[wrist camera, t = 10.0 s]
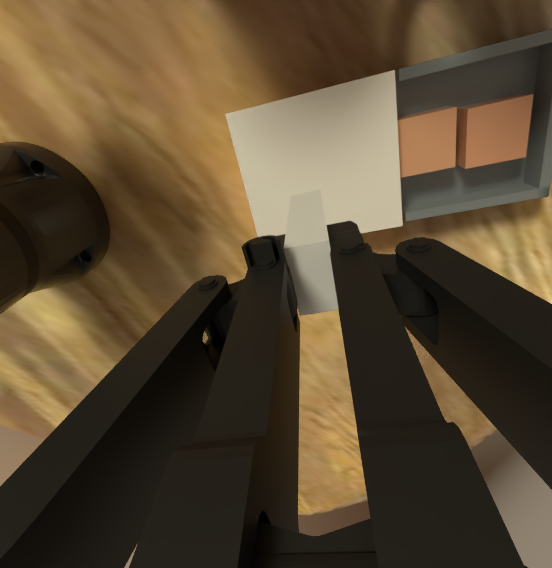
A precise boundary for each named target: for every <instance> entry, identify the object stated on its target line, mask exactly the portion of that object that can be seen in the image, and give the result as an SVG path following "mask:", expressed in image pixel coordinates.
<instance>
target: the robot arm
mask: <svg viewBox="0 0 552 568" xmlns="http://www.w3.org/2000/svg"><path fill="white" fill-rule="evenodd" d="M108 243H109V224H108V219H107V215H106V212H105V209H104V207H103V205H102V202H101V200H100V198H99V197H98V195H97V193H96V192H95V190H94V189H93V187H92V186H91V184H90V183H89V182H88V181H87V179H86V178H85V177H84V176H83V175H82V174H81V173H80V172H79V171H78V170H77V169H76V168H75V167H74V166H73V165H71V164H70V163H69V162H68V161H66V160H65V159H63V158H62V157H60V156H59V155H57V154H55V153H54V152H52V151H50V150H48V149H45V148H43V147H40V146H37V145H34V144H30V143H25V142H6V143H0V314H1V313H2V312H4V311H5V310H6V309H8V308H9V307H10V306H12V305H13V304H15V303H16V302H17V301H19V300H20V299H21V298H23V297H24V296H26V295H27V294H29V293H31V292H35V291H39V290H43V289H46V288H50V287H54V286H58V285H62V284H65V283H69V282H72V281H75V280H77V279H79V278H81V277H82V276H84V275H85V274H87V273H88V272H89V271H90V270H92V269H93V268H94V267H96V266H97V265H98V264H99V263H100V261H101V260H102V259H103V257H104V255H105V253H106V251H107V248H108ZM242 250H243V253H244V257H245V260H246V263H247V267H248V270H247V273H246V277H245V279H243V280H241V281H238V282H235V283H232V284H229V285H228V282H227V279H226V277H224V276H219V275H216V276H207V278H206V277H204V278H202V279H201V280H200V281H198V282H196V283H195V284H193V285H192V286H191V287H190V288H189V289H188V290H187V291H186V292H185V293H184V295H183V296H182V297H181V298H180V299H179V300H178V301H177V302H176V303H175V304H174V305H173V306H172V307H171V308H170V309H169V310H168V311H167V312H166V313H165V314H164V315H163V317H162V318H161V319H160V320H159V321H158V322H157V323H156V324H155V325H154V326H153V327H152V328H151V329H150V330H149V331H148V332H147V333H146V334H145V335H144V336H143V337H142V339H141V340H140V341H139V342H138V343H137V344H136V345H135V346H134V347H133V348H132V349H131V350H130V351H129V352H128V353H127V354H126V355H125V356H124V357H123V358H122V360H121V361H120V362H119V363H118V364H117V365H116V366H115V367H114V368H113V369H112V370H111V371H110V372H109V373H108V374H107V375H106V376H105V377H104V378H103V379H102V380H101V382H100V383H99V384H98V385H97V386H96V387H95V388H94V389H93V390H92V391H91V392H90V393H89V394H88V395H87V396H86V397H85V398H84V399H83V400H82V401H81V403H80V404H79V405H78V406H77V407H76V408H75V409H74V410H73V411H72V412H71V413H70V414H69V415H68V416H67V417H66V418H65V419H64V420H63V421H62V422H61V423H60V425H59V426H58V427H57V428H56V429H55V430H54V431H53V432H52V433H51V434H50V435H49V436H48V437H47V438H46V439H45V440H44V441H43V442H42V444H41V445H39V447H38V448H37V449H36V450H35V451H34V452H33V453H32V454H31V455H30V456H29V457H28V458H27V459H26V460H25V461H24V462H23V463H22V464H21V465H20V466H19V468H18V469H17V470H16V471H15V472H14V473H13V474H12V475H11V476H10V477H9V478H8V479H7V480H6V481H5V482H4V483H3V484H2V485H1V486H0V568H124V567H125V565H126V563H127V561H128V560H129V558H130V556H131V554H132V552H133V550H134V549H135V547H136V545H137V547H136V550H135V553H134V556H133V558H132V561H131V564H130V566H129V568H528V567H526V566H524V565H523V563H522V560H521V558H520V556H519V554H518V552H517V550H516V548H515V546H514V543H513V541H512V539H511V537H510V535H509V532H508V530H507V528H506V526H505V524H504V522H503V520H502V517H501V515H500V513H499V511H498V509H497V506H496V504H495V502H494V500H493V498H492V496H491V494H490V491H489V489H488V487H487V485H486V483H485V481H484V478H483V476H482V474H481V472H480V470H479V468H478V466H477V463H476V461H475V459H474V457H473V455H472V453H471V450H470V448H469V446H468V444H467V442H466V440H465V438H464V436H463V434H462V432H461V431H460V429H459V427H458V426H457V425H456V424H455V423H454V422H451V423H447V422H446V421H445V419H444V417H443V415H442V413H441V411H440V408H439V406H438V404H437V401H436V399H435V397H434V394H433V392H432V390H431V387H430V385H429V383H428V380H427V378H426V376H425V373H424V371H423V369H422V366H421V364H420V362H419V359H418V357H417V355H416V352H415V350H414V348H413V345H412V343H411V341H410V338H409V336H408V334H407V331H406V329H405V327H406V328H407V329H408V330H409V331H410V333H411V334H412V335H413V336H414V337H415V338H416V339H417V340H418V341H419V343H420V344H421V345H422V346H423V347H424V348H425V349H426V350H427V351H428V353H429V354H430V355H431V356H432V357H433V358H434V359H435V360H436V361H437V363H438V364H439V365H440V366H441V367H442V368H443V369H444V370H445V371H446V373H447V374H448V375H449V376H450V377H451V378H452V379H453V380H454V381H455V383H456V384H457V385H458V386H459V387H460V388H461V389H462V390H463V391H464V393H465V394H466V395H467V396H468V397H469V398H470V399H471V400H472V401H473V403H474V404H475V405H476V406H477V407H478V408H479V409H480V410H481V411H482V413H483V414H484V415H485V416H486V417H487V418H488V419H489V420H490V422H491V423H492V424H493V425H494V426H495V427H496V428H497V429H498V430H499V431H500V433H501V434H502V435H503V436H504V437H505V438H506V439H507V440H508V442H509V443H510V444H511V445H512V446H513V447H514V448H515V449H516V450H517V451H518V453H519V454H520V455H521V456H522V457H523V458H524V459H525V460H526V462H527V463H528V464H529V465H530V466H531V467H532V468H533V469H534V470H535V472H536V473H537V474H538V475H539V476H540V477H541V478H542V479H543V480H544V482H545V483H546V484H547V485H548V486H549V487H550V488H551V489H552V304H551V303H549V302H547V301H545V300H543V299H542V298H540V297H538V296H536V295H534V294H533V293H531V292H529V291H527V290H526V289H524V288H522V287H520V286H518V285H517V284H515V283H513V282H511V281H509V280H508V279H506V278H504V277H502V276H500V275H499V274H497V273H495V272H493V271H492V270H490V269H488V268H486V267H484V266H483V265H481V264H479V263H477V262H475V261H474V260H472V259H470V258H468V257H467V256H465V255H463V254H461V253H459V252H458V251H456V250H454V249H452V248H450V247H449V246H447V245H445V244H443V243H441V242H440V241H437V240H434V239H429V238H425V237H420V238H419V237H418V238H413V239H410V240H406V241H404V242H401V243H400V244H398V245H397V246H396V249H395V251H396V254H377V253H373V252H372V249H371V247H370V246H369V245H368V244H367V243H364V241H363V238H362V236H361V234H360V231H359V228H358V226H357V224H356V223H354V222H352V221H345V222H340V223H335V224H330V225H326V220H325V214H324V208H323V202H322V197H321V191H320V189H319V190H315V191H310V192H305V193H301V194H296V195H291V196H290V203H289V211H288V219H287V227H286V234H283V235H278V236H274V235H267V236H261V237H257V238H254V239H252V240H249V241H248V242H246V243H245V244H244V245H243V246H242ZM297 306H298V310H299V315H307V314H314V313H320V312H327V311H334V310H339V315H340V322H341V328H342V335H343V341H344V347H345V354H346V360H347V367H348V373H349V379H350V386H351V392H352V398H353V405H354V411H355V418H356V424H357V433H358V440H359V446H360V453H361V459H362V466H363V472H364V479H365V485H366V491H367V498H368V504H369V510H370V517H371V519H368V520H365V521H362V522H359V523H356V524H353V525H350V526H347V527H345V528H342V529H339V530H336V531H333V532H330V533H327V534H325V535H321V536H309V535H305V534H302V533H299V527H298V447H299V361H300V321H299V317H298V313H297ZM404 326H405V327H404ZM204 331H205V332H206V334H207V336H208V340H207V342H206V343H205V344H204V343H203V341H202V339H203V333H204ZM138 541H139V542H138ZM137 543H138V544H137Z"/></svg>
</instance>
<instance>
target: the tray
mask: <svg viewBox="0 0 552 568" xmlns="http://www.w3.org/2000/svg"><path fill="white" fill-rule="evenodd" d="M395 83H396V103H397V117H401V116H405V115H410V114H414V113H418V112H422V111H427V110H431V109H435V108H440V107H444V106H451V107H457V108H458V107H463V106H467V105H471V104H476V103H480V102H484V101H489V100H493V99H497V98H502V97H506V96H510V95H515V94H533V103H532V111H531V119H530V127H529V136H528V144H527V152H526V157H524V158H518V159H513V160H508V161H503V162H498V163H493V164H488V165H483V166H478V167H473V168H467V169H464V168H462V167H460V166H458V165H456V164H455V167H452V168H447V169H442V170H437V171H432V172H427V173H422V174H417V175H412V176H407V177H402V178H400V182H401V202H402V217H403V218H404V219H405V221H411V220H417V219H422V218H428V217H434V216H439V215H445V214H451V213H456V212H462V211H468V210H473V209H479V208H485V207H490V206H496V205H502V204H508V203H513V202H519V201H525V200H530V199H536V198H542V197H547V196H549V189H550V183H551V177H552V29H549V30H546V31H542V32H538V33H534V34H530V35H526V36H523V37H519V38H515V39H511V40H507V41H504V42H500V43H496V44H492V45H488V46H484V47H481V48H477V49H473V50H469V51H465V52H462V53H458V54H454V55H450V56H446V57H442V58H439V59H435V60H431V61H427V62H423V63H420V64H416V65H412V66H408V67H404V68H400V69H397V70H395Z"/></svg>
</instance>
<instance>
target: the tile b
mask: <svg viewBox="0 0 552 568" xmlns="http://www.w3.org/2000/svg"><path fill="white" fill-rule="evenodd" d="M532 103H533V94H515V95H510V96H506V97H502V98H497V99H493V100H489V101H484V102H480V103H476V104H471V105H467V106H463V107H458V108H457V120H456V160H455V164H456V165H458V166H460V167H462V168H464V169H467V168H473V167H478V166H483V165H488V164H493V163H498V162H503V161H508V160H513V159H518V158H524V157H526V152H527V144H528V136H529V127H530V119H531V111H532Z"/></svg>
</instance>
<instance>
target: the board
mask: <svg viewBox="0 0 552 568" xmlns="http://www.w3.org/2000/svg"><path fill="white" fill-rule="evenodd" d="M225 115H226V119H227V122H228V126H229V130H230V133H231V137H232V141H233V145H234V148H235V152H236V156H237V160H238V163H239V167H240V171H241V175H242V178H243V182H244V186H245V190H246V193H247V197H248V201H249V205H250V208H251V212H252V216H253V220H254V223H255V227H256V231H257V235H258V237H261V236H267V235H274V236H278V235H283V234H286V227H287V219H288V211H289V203H290V196H291V195H296V194H301V193H305V192H310V191H315V190H319V189H320V191H321V197H322V202H323V208H324V214H325V220H326V225H330V224H335V223H340V222H345V221H352V222H354V223H356V224H357V226H358V228H359V231H360V233H366V232H372V231H377V230H383V229H389V228H395V227H400V226H403V222H402V202H401V182H400V162H399V143H398V123H397V103H396V83H395V70H392V71H388V72H384V73H381V74H377V75H373V76H369V77H365V78H362V79H358V80H354V81H350V82H346V83H342V84H339V85H335V86H331V87H327V88H323V89H320V90H316V91H312V92H308V93H304V94H300V95H297V96H293V97H289V98H285V99H281V100H278V101H274V102H270V103H266V104H262V105H258V106H255V107H251V108H247V109H243V110H239V111H236V112H232V113H228V114H225Z"/></svg>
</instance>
